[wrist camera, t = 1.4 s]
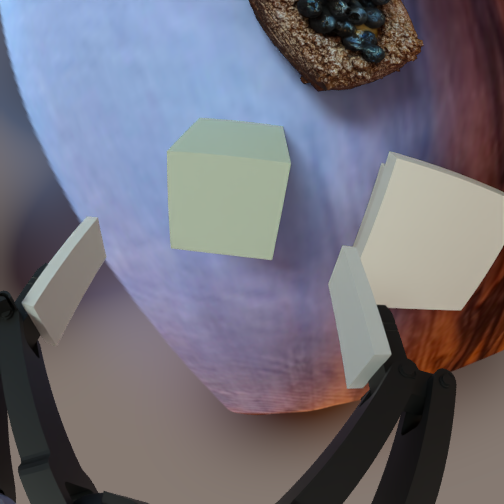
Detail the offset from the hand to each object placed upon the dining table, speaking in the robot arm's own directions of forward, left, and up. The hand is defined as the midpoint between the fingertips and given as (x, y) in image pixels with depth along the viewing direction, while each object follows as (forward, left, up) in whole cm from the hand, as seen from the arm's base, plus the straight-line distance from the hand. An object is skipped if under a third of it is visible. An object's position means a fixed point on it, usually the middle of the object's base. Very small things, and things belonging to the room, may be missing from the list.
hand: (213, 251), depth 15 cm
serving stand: (+4, +21, -13) cm, 25 cm away
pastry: (-14, +6, -13) cm, 20 cm away
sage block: (0, 0, -13) cm, 13 cm away
